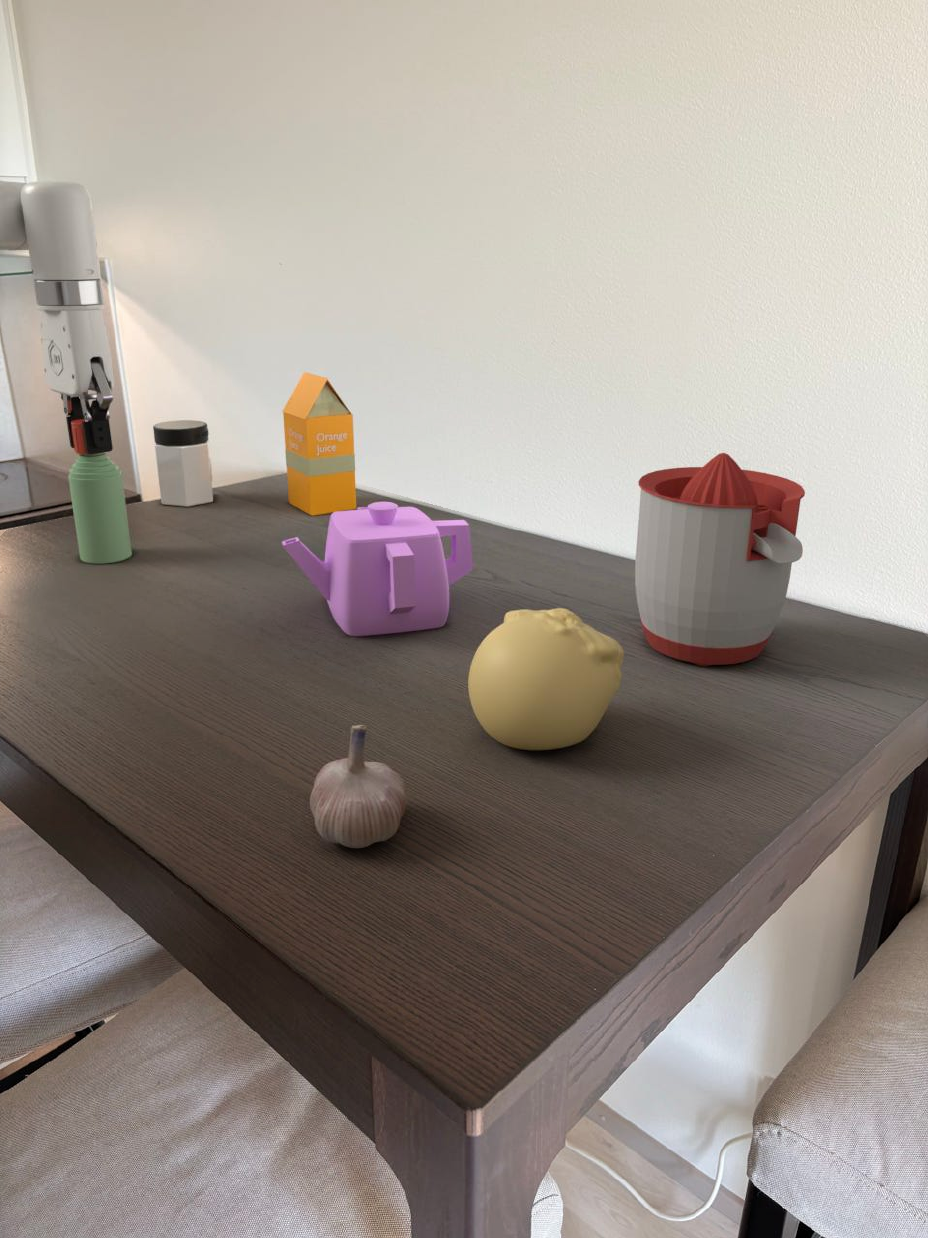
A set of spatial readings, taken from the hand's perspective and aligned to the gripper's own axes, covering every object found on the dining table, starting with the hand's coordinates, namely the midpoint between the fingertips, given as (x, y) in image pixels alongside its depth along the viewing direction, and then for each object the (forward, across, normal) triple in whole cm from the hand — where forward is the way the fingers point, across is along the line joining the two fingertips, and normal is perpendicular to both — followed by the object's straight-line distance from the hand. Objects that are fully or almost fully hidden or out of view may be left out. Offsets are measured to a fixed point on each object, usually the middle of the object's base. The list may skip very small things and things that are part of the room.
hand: (91, 448), depth 120 cm
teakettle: (+14, +40, +14) cm, 45 cm away
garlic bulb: (+15, +72, -14) cm, 75 cm away
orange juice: (+14, -2, +36) cm, 39 cm away
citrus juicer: (+15, +71, +32) cm, 79 cm away
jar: (+14, -19, +22) cm, 33 cm away
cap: (0, 0, 0) cm, 0 cm away
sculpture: (+15, +71, +6) cm, 73 cm away
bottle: (+14, 0, 0) cm, 14 cm away
